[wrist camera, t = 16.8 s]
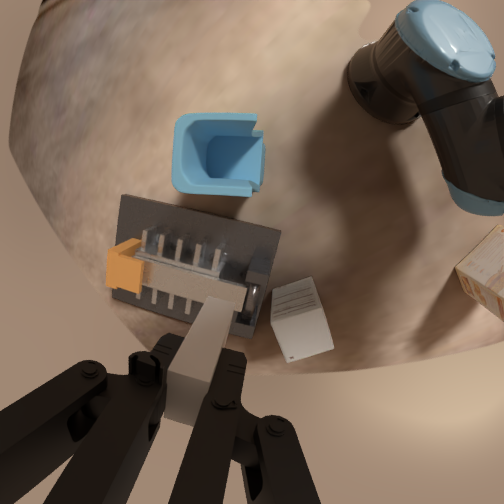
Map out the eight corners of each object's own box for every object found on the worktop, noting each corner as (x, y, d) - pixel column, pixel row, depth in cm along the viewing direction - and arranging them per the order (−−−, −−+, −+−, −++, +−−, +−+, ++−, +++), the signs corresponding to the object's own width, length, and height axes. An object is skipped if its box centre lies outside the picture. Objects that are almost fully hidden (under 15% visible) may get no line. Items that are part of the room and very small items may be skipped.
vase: (262, 189, 45) (252, 197, 26) (213, 186, 46) (169, 193, 26) (265, 140, 43) (258, 113, 24) (216, 138, 44) (174, 113, 24)
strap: (135, 248, 43) (130, 251, 41) (261, 281, 42) (260, 285, 41) (132, 282, 44) (127, 286, 43) (252, 316, 44) (251, 321, 43)
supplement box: (323, 311, 50) (335, 350, 37) (284, 323, 51) (285, 365, 39) (312, 274, 48) (323, 306, 36) (270, 287, 49) (268, 323, 37)
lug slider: (132, 237, 47) (107, 249, 39) (163, 246, 47) (142, 259, 39) (129, 269, 49) (105, 285, 41) (158, 278, 49) (138, 296, 41)
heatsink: (125, 194, 47) (99, 198, 39) (281, 230, 47) (282, 242, 38) (115, 294, 52) (93, 312, 44) (252, 335, 52) (248, 361, 44)
